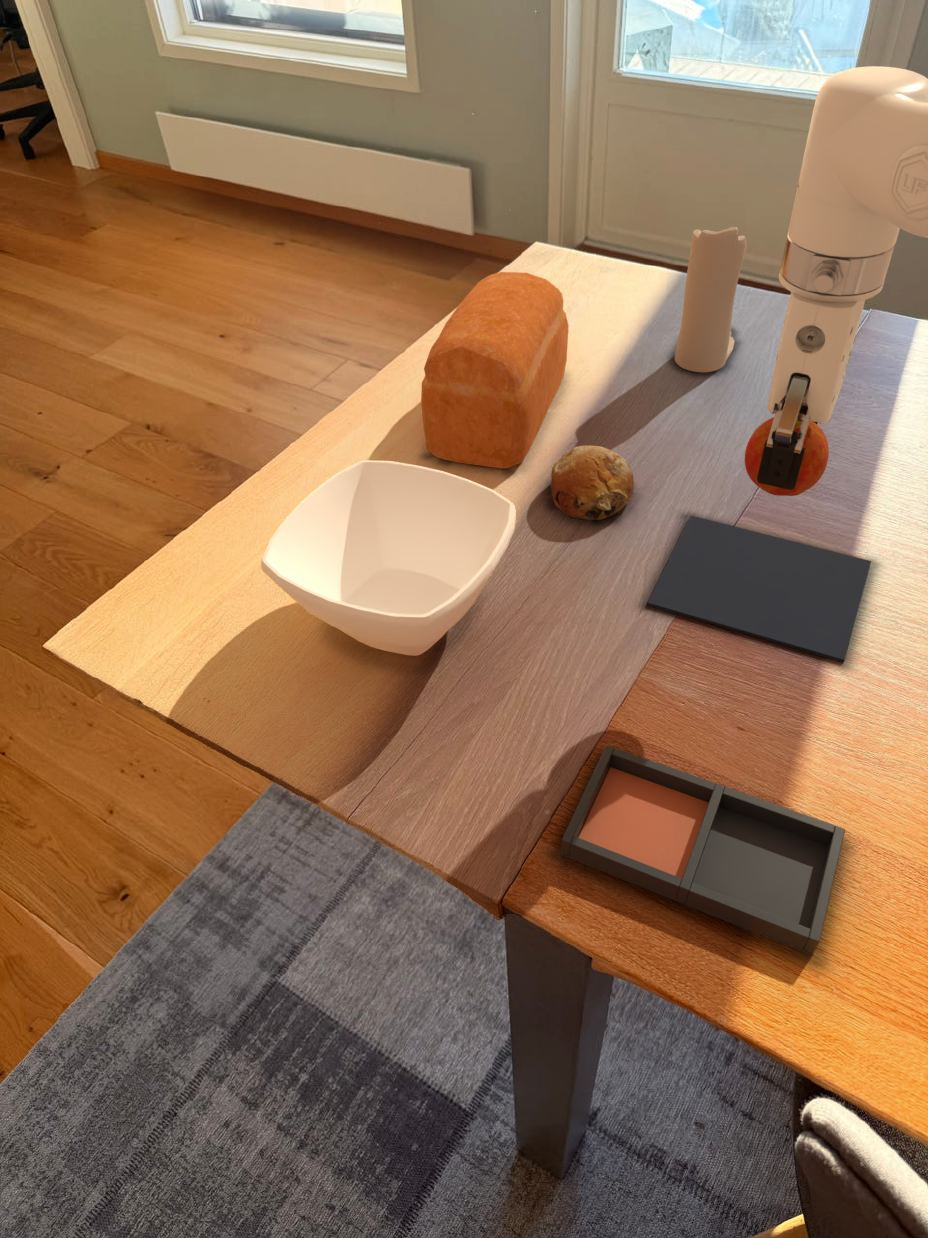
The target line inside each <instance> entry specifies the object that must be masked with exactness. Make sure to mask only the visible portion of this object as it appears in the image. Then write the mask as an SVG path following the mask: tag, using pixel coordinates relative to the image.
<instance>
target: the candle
mask: <svg viewBox="0 0 928 1238" xmlns="http://www.w3.org/2000/svg"><path fill="white" fill-rule="evenodd" d="M690 243H691V244H690V251H689V252H690V253H689V257H688V265H687V269H686V270H687V271H686V278H685V284H684V293H683V294H684V295H683V303H682V315H681V322H680V327H679V333H678V338H677V342H676V343H677V344H676V347H675V354H674V361H675V364H677V366H679V367H680V368H682V369H684V370H687V371H689V372H695V373H711V372H712V373H713V372H715V371H719V370H720V369H722V368H723V367H724V366H726V363H727V360H728V359H729V357H730V355H731V354H732V352H733V350H734V347H735V343H736V341H735V339H734V337H733V336H732V331H731V330H732V324H733V323H732V322H733V314H734V313H733V312H734V305H735V304H734V303H735V298H736V292H737V287H738V282H739V278H740V274H741V271H742V267H743V263H744V259H745V254H746V251H747V239H746V236H745V235H739V228H738V227H737V226H731V227H728V228H725V229H722V230H718V231H712V230H709V229H703V230H701V229H697V228H696V229H693V232H692V235H691V242H690Z"/></svg>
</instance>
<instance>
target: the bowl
mask: <svg viewBox="0 0 928 1238" xmlns="http://www.w3.org/2000/svg"><path fill="white" fill-rule="evenodd" d="M516 521H517V509H516V505H515V504H514V503H513V502H512V500H510V499H508V498H507V497H505V496H504V495H502V494H500V493H499V492H498V491H496V490H494V489H492V488H490V487H488V486H485V485H482V484H480V483H478V482H476V481H474V480H470V479H468V478H465V477H463V476H460V475H455V474H453V473H450V472H447V471H444V470H439V469H436V468H432V467H426V466H422V465H418V464H411V463H405V462H398V461H394V460H393V461H392V460H368V459H367V460H365V459H364V460H360V461H358V462H356V463H354V464H351V465H349V466H348V467H346V468H344V469H342V470H340V471H338V472H337V473H335V474H333V476H331V477H330V478H328V479H327V480H326V481H324V482H323V483H321V484H320V485H319V486H317V488H315V489H314V490H313V491H312V492H310V493H309V494H308V495H307V496H306V497H305V498H304V499H302V500H301V501H300V502H299V503H298V504H297V505H296V507H294V509H293V510H292V511H291V512H289V514H288V515H287V517H286V518H284V520H283V521H282V522H281V523H280V525H279V527H278V528H277V529H276V531H275V532H274V533H273V535H272V536H271V538H270V539H269V541H268V542H267V544H266V545H267V546H266V548H265V551H264V554H263V556H262V559H261V561H260V562H261V563H260V567H261V571H262V572H263V573H265V575H267V576H268V577H269V578H270V579H271V580H272V581H273V582H274V583H275V584H276V585H277V586H278V587H279V588H280V589H281V590H282V591H284V592H285V593H286V594H287V595H288V596H289V597H290V598H291V599H292V600H294V601H295V602H296V603H297V604H298V605H300V607H301V608H303V609H304V610H305V611H306V612H307V613H308V614H310V615H312V616H313V617H315V618H317V619H319V620H320V621H322V622H324V623H325V624H327V625H329V626H331V627H333V628H335V629H338V630H339V631H341V632H343V633H344V634H346V635H348V636H349V637H351V638H353V639H354V640H356V641H358V642H359V643H362V644H364V645H366V646H367V647H371V648H373V649H377V650H381V651H385V652H389V653H394V654H399V655H404V656H414V657H415V656H416V657H417V656H421V655H423V654H424V653H425V652H427V651H428V650H429V649H430V648H432V647H433V646H434V645H435V644H436V643H437V642H438V641H440V640H441V639H442V638H443V637H444V636H445V634H446V633H447V632H448V631H449V630H451V628H452V627H454V626H455V625H456V624H457V623H458V622H459V621H460V620H462V618H463V617H464V616H465V615H466V614H467V612H468V611H469V610H470V609H471V608H472V607H473V605H474V604H475V603H476V601H477V600H478V598H479V596H480V595H481V592H482V591H483V589H484V588H485V586H486V584H487V583H488V581H489V579H490V577H491V576H492V574H493V573H494V571H495V569H496V568H497V566H498V564H499V562H500V561H501V559H502V557H503V556H504V554H505V552H506V551H507V549H508V547H509V545H510V542H511V540H512V538H513V535H514V532H515V530H516Z"/></svg>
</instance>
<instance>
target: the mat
mask: <svg viewBox="0 0 928 1238" xmlns="http://www.w3.org/2000/svg"><path fill="white" fill-rule="evenodd" d="M871 563H872V561H871V560H869V559H865V558H861V557H857V556H853V555H849V554H845V553H841V552H837V551H833V550H829V549H825V548H821V547H818V546H813V545H809V544H805V543H801V542H798V541H793V540H788V539H785V538H782V537H778V536H775V535H770V534H767V533H763V532H758V531H754V530H750V529H747V528H743V527H738V526H734V525H731V524H726V523H723V522H718V521H715V520H711V519H707V518H702V517H698V516H695V515H690V517H689V518H688V520H687V521H686V524H685V526H684V528H683V530H682V532H681V534H680V536H679V539H678V540H677V542H676V544H675V546H674V548H673V550H672V552H671V554H670V557H669V559H668V560H667V563H666V565H665V566H664V568H663V570H662V573H661V575H660V576H659V579H658V580H657V583H656V585H655V586H654V589H653V590H652V592H651V595H650V596H649V598H648V600H647V603H646V605H647V606H648V607H652V608H656V609H659V610H663V611H666V612H669V613H673V614H676V615H679V616H683V617H686V618H690V619H693V620H697V621H700V622H703V623H706V624H710V625H714V626H717V627H720V628H724V629H728V630H731V631H735V632H738V633H741V634H745V635H748V636H750V637H751V636H752V637H754V638H758V639H762V640H765V641H769V642H772V643H775V644H779V645H782V646H786V647H788V648H792V649H795V650H799V651H803V652H805V653H809V654H813V655H816V656H820V657H823V658H826V659H830V660H833V661H837V662H840V663H845V660H846V656H847V653H848V649H849V645H850V641H851V637H852V634H853V630H854V626H855V624H856V618H857V615H858V612H859V608H860V605H861V600H862V598H863V597H862V596H863V594H864V590H865V585H866V582H867V578H868V575H869V570H870V566H871Z"/></svg>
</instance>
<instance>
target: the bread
mask: <svg viewBox="0 0 928 1238" xmlns="http://www.w3.org/2000/svg"><path fill="white" fill-rule="evenodd" d="M568 343H569V322H568V318H567V314H566V312H565V310H564V296H563V293H562V292H561V290H560V289H559V288H558V287H557V286H556V285H554V284H553V283H552V282H550V281H549V280H547V278H544V277H542V276H537V275H534V274H532V273H528V272H517V271H515V272H514V271H499V272H496V273H492V274H489V275H487V276H486V277H484V278H483V279H481V280H479V281H478V282H477V283H476V284H475V285H474V286H473V288H472V289H471V290H470V291H469V293H468V294H467V295H466V296H465V298H464V299H463V300H462V301H461V302H460V303H459V305H458V306H457V307H456V309H455V310H454V311H453V313H452V314H451V315H450V317H449V318H448V320H447V321H446V322H445V323H444V326H443V328H442V329H441V332H440V333H439V335H438V337H437V339H436V340H435V342H434V343H433V344H432V346H431V347H430V350H429V352H428V355H427V358H426V361H425V364H424V367H423V370H424V377H423V379H422V382H421V391H420V392H421V396H420V404H421V415H422V427H423V432H424V437H425V439H424V440H425V444H426V445H425V446H426V448H427V450H428V451H429V452H430V453H431V455H432V456H433V457H435V458H439V459H441V460H444V461H445V460H446V461H450V462H455V463H461V464H467V465H476V466H482V467H489V468H497V469H509V468H512V467H514V466H516V465H519V464H521V463H522V462H523V461H524V459H525V458H526V457H527V455H528V454H529V452H530V449H531V448H532V445H533V443H534V442H535V439H536V437H537V435H538V433H539V431H540V429H541V426H542V424H543V422H544V420H545V418H546V416H547V414H548V411H549V409H550V406H551V404H552V402H553V401H554V398H555V396H556V395H557V392H558V391H559V389H560V387H561V384H562V382H563V379H564V376H565V372H566V366H567V361H568V346H569V345H568Z"/></svg>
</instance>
